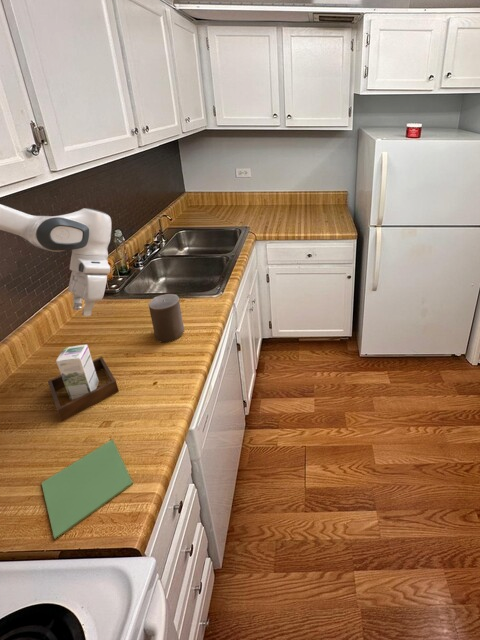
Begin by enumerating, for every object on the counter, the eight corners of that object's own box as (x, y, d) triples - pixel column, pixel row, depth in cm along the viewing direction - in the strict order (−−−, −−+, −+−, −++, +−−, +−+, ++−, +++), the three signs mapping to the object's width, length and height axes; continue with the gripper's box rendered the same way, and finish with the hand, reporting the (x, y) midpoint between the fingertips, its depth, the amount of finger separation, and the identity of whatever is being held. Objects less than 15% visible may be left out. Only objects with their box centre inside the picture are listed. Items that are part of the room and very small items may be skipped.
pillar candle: (169, 345, 113) (162, 308, 108) (149, 338, 117) (141, 301, 111) (190, 329, 121) (184, 293, 116) (170, 322, 125) (163, 287, 119)
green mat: (54, 540, 63) (53, 538, 63) (42, 484, 72) (41, 482, 72) (133, 483, 72) (132, 482, 72) (113, 440, 81) (112, 439, 81)
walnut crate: (61, 421, 86) (57, 410, 85) (51, 391, 95) (47, 380, 94) (118, 391, 95) (115, 380, 94) (104, 366, 104) (101, 356, 103)
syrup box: (99, 381, 98) (88, 342, 93) (92, 397, 93) (79, 357, 88) (78, 385, 97) (64, 345, 92) (69, 402, 92) (54, 361, 86)
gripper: (66, 261, 101) (59, 306, 100) (86, 267, 88) (78, 320, 87) (90, 262, 106) (83, 305, 105) (112, 268, 92) (105, 318, 91)
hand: (81, 312), depth 95 cm, fingers open, 8 cm apart
